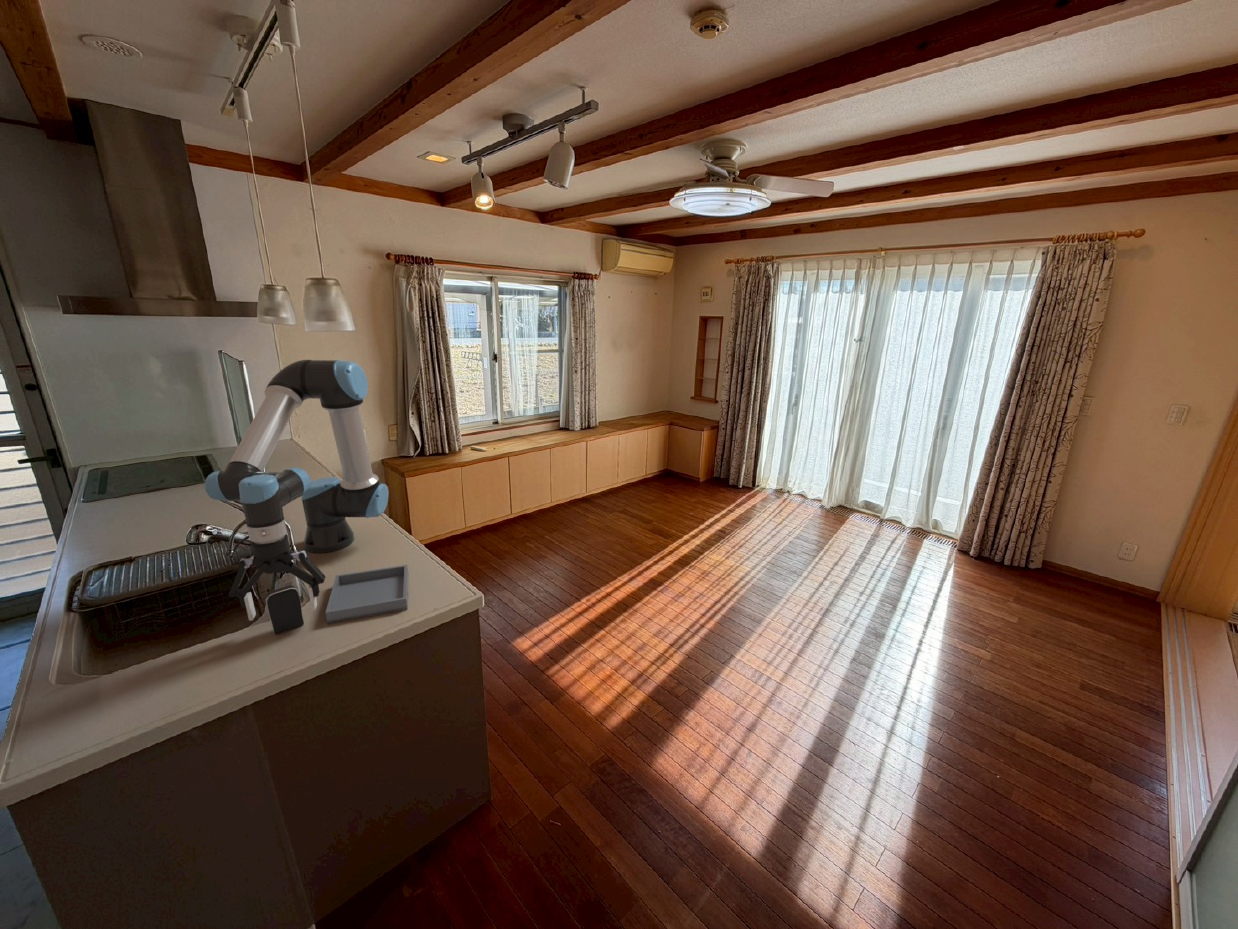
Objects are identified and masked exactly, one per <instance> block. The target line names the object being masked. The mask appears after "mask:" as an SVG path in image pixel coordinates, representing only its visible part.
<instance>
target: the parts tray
mask: <svg viewBox="0 0 1238 929" xmlns="http://www.w3.org/2000/svg"><path fill="white" fill-rule="evenodd" d="M408 568H409V567H408V564H403V565H397V566H396V565H395V566H391V567H383V568H377V569H371V570H364V571H363V570H362V571H358V572H351V573H344V574H338V575H337V574H336V575H335V578H334V581H333V585H332V588H331V591H330V596H329V598H328V602H327V607H326V610H325V617H326V618H325V619H326V623H327V625H330V624H335V623H341V622H345V621H346V622H348V621H350V620H357V619H363V618H367V617H372V616H380V615H384V614H385V615H386V614H389V613H395V612H401V611H407V610H408V606H409V603H408V602H409V570H408Z"/></svg>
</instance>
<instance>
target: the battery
mask: <svg viewBox="0 0 1238 929" xmlns="http://www.w3.org/2000/svg"><path fill="white" fill-rule="evenodd" d="M264 597H265V599H264V600H265V606H266V609H267V610H266V611H267V613H268V616H269V620H270V622H271V623H270V624H271V626H272V632H273V634H274V635H276V636H277V635H280V634H282V633H286V632H288V631H291V630H294V629H296V628H299V627H302V626H304V624H305V621H304V616H303V611H302V609H303V608H302V603H301V598H300V594H299V591H298V589H297V588H296V587H295V586H294V585H287V586H283V587H280V588H279V587H278V588H277V589H274V590H271V591H269V592H267V593H266V595H265V596H264Z"/></svg>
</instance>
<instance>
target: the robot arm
mask: <svg viewBox="0 0 1238 929" xmlns="http://www.w3.org/2000/svg"><path fill="white" fill-rule="evenodd" d="M368 388H369V382H368V379H367V376H366V373H365V370H364V369H363V368H362V367H361V366H360V365H359V364H358V363H356V362H354V361H347V360H346V361H345V360H341V359H337V360H335V359H334V360H329V359H328V360H327V359H326V360H324V359H321V360H320V359H319V360H318V359H315V360H314V359H313V360H312V359H302V360H297V361H294V362H292V363H290V364H288V365H286V366H285V367H283V368H282V369H281V370H279V371H278V372H277V373H276V374H275V375H274V376H273V377H272V378H271V380H270V381H268V384H267V386H266V387H265V389H264V391H263V392H264V396H265V398H264V399H263V401H262V403H261V405H260V406H259V408H258V410H257V412H256V414H255V416H254V417H253V419H252V421H251V423H250V424H249V426H248V428H247V430H246V432H245V433H244V435H243V437H242V439H241V440H240V442H239V444H238V446H237V448H236V450H235V452H234V453H233V455H232V456H231V458H230V460H229V462H228V463H227V466H225V469H224V470H218V471H213V472H211V473H210V474H208V475H207V477H206V479H205V481H204V491H205V493H206V494H207V496H208V497H209V498H211V499H212V500H215V501H223V502H224V501H225V502H233V501H234V502H235V501H238V502H239V501H240V502H241V507H242V510H243V513H244V517H245V524H246V529H247V533H248V538H249V541H251V542H250V547H251V552H252V556H253V558H247V557H246V556H244V557H243V556H242V557H241V558H240V560H239V562H238V563H237V566H238V571H237V574H236V575H235V578H234V580H233V582H232V586H231V587H230V590H229V592H228V597H229V598H234V597H235V598H238V599H239V603H240V607H241V608H242V609H246V614H247V618H248V621H249V622H250V621H253V620H254V618H255V617H256V616H257V612H256V608H255V604H254V600H253V595H252V592H251V591H250V590H251V588H253V586H254V585H255V583H256V582H257V581H258V579H260V577H261V576H262V575H263V573H264V574H267V575H272V574H277V573H283V572H286V573H288V574H291V575H293V576H295V577H296V578H298V579H299V580H301V581H303V583H306V584H307V585H308V588H307V590H308V596H309V600H310V601H309V602H310V606H311V610H312V611H315V610H316V609H317V606H318V602H317V597H319V595H320V587H319V586H320V584H323V583H324V582H325V579H326V575H325V574H324V573H323V572H322V571H321V569H320V568H319V567H318V566H317V565H316V564H315V563H314V561H312V560H311V558H310V557H309V556H308V553H307V552H310V553H314V554H321V553H322V554H323V553H331V552H335V551H338V550H341V549H344V548H346V547H348V546H350V545H351V544H352V543H353V542H354V541H355V535H354V532H353V530H352V528H351V526H350V524H349V523H348V521H347V519H346V518H366V519H369V518H379V517H381V516H382V515H383V514H384V512H385V511H386V508H387V506H388V502H389V497H390V496H389V495H390V494H389V487H388V486H387V484H385V483H382V482H381V483H380V478H379V476H378V475H377V474H375V473H373V469H372V464H371V459H370V454H369V450H368V445H367V444H368V443H367V439H366V434H365V430H364V425H363V420H362V414H361V410H360V407H361V406H362V405H363V404H364V399H365V398H366V397H367V396H368V392H369V389H368ZM308 399H315V400H316V399H317V400H319V401H320V405H321V407H322V408H323V409H324V410H326V411H327V412H328V414H329V419H330V424H331V429H332V433H333V436H334V442H335V445H336V449H337V453H338V459H339V463H340V465H341V471H342V475H343V479H342V480H340V478H338V477H336V476H334V477H333V476H330V477H323V478H319V479H318V478H317V479H314V480H311V477H310V475H309V474H308V472H306V471H305V470H304V469H302V468H298V467H290V468H287V469H284V470H283V471H264V470H265V468H266V466H267V464H268V462H269V460H270V459H271V456H272V454H273V452H274V450H275V448H276V447H277V444H278V442H279V440H280V438H281V436H282V434H283V433H284V430H285V429H286V427H287V425H288V423H289V421H290V419H291V418H292V415H293V413H294V411H295V410H296V409H298V408H300V407H301V406H302V404H303V402H304V401H306V400H308ZM298 498H301V502H302V508H303V512H304V517H305V522H306V530H305V535H304V540H303V544H304V548H305V549H301V550H300V551H298V552H292V551H291V546H290V542H289V541H290V540H289V536H288V535H287V534H288V529H287V526H286V522H285V516H284V510H283V509H284V508H283V507H285V506H287V505H288V504H290V503H292V502H293V501H295V500H297V499H298ZM293 559H296V561H298V562H300V564H301V565H302V566H303V567H304V568H305V569H306V570H307V571H306V570H304V569H303V568H301V567H300V566H298V565H297V564H296V563H295V562H294V561H293ZM251 565H253V566H254V567H255V568H257V569H256V571H255V572H254V574H253V575H252V576H251V577H250V578H249V580H248V581H247V582H246V584H244V586H243V587H242V589H239V588H240V586H241V583H242V581H243V578H244V576H245V574H246V571H247V569H248V568H250V566H251Z"/></svg>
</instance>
